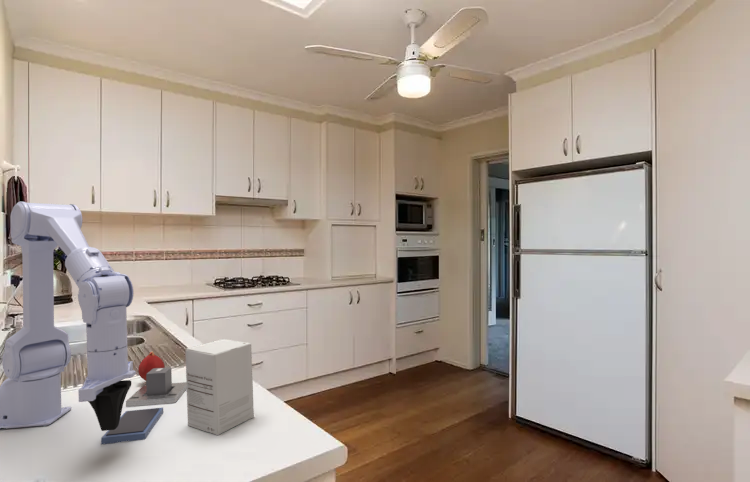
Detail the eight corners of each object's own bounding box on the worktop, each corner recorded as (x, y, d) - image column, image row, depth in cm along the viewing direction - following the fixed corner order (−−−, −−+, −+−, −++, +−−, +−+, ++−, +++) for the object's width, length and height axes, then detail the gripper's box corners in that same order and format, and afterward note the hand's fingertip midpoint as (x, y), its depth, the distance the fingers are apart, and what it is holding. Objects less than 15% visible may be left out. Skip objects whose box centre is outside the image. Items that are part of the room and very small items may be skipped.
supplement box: (224, 408, 87) (223, 337, 87) (255, 417, 83) (253, 342, 83) (185, 425, 79) (183, 347, 79) (216, 436, 75) (214, 353, 75)
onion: (133, 385, 103) (132, 353, 103) (155, 378, 108) (154, 347, 108) (148, 388, 100) (147, 355, 100) (169, 381, 105) (169, 349, 105)
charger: (146, 400, 93) (146, 373, 93) (153, 394, 97) (153, 367, 97) (165, 399, 93) (165, 371, 93) (171, 392, 97) (171, 366, 97)
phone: (101, 447, 73) (101, 436, 73) (126, 418, 85) (125, 410, 85) (145, 442, 74) (144, 432, 74) (163, 415, 86) (163, 406, 86)
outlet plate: (125, 406, 89) (125, 400, 89) (144, 390, 99) (143, 384, 99) (175, 402, 91) (175, 396, 91) (188, 387, 101) (188, 381, 101)
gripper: (113, 357, 63) (116, 447, 63) (149, 336, 77) (151, 409, 77) (62, 361, 62) (64, 452, 62) (108, 338, 76) (110, 412, 76)
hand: (109, 428), depth 70 cm, fingers closed
